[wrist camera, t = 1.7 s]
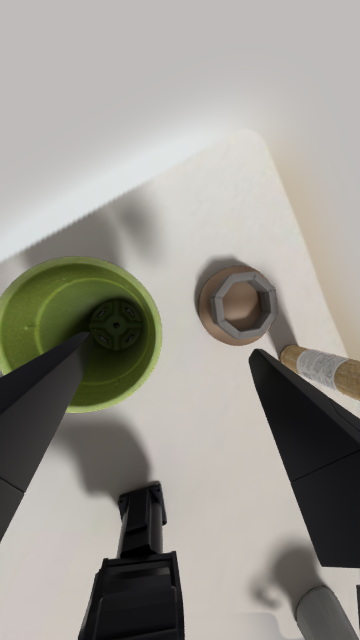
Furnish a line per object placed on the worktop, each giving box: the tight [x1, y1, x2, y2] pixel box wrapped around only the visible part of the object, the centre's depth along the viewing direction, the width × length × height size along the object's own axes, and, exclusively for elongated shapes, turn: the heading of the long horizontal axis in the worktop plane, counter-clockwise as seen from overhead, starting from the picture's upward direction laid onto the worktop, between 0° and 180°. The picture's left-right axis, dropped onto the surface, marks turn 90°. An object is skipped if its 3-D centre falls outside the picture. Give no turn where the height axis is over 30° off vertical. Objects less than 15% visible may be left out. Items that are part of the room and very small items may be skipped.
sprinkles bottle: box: [280, 345, 360, 401], centre depth 21 cm, size 5×5×14 cm
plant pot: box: [0, 256, 162, 413], centre depth 17 cm, size 12×12×11 cm
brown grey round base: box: [198, 266, 278, 346], centre depth 24 cm, size 12×12×4 cm
